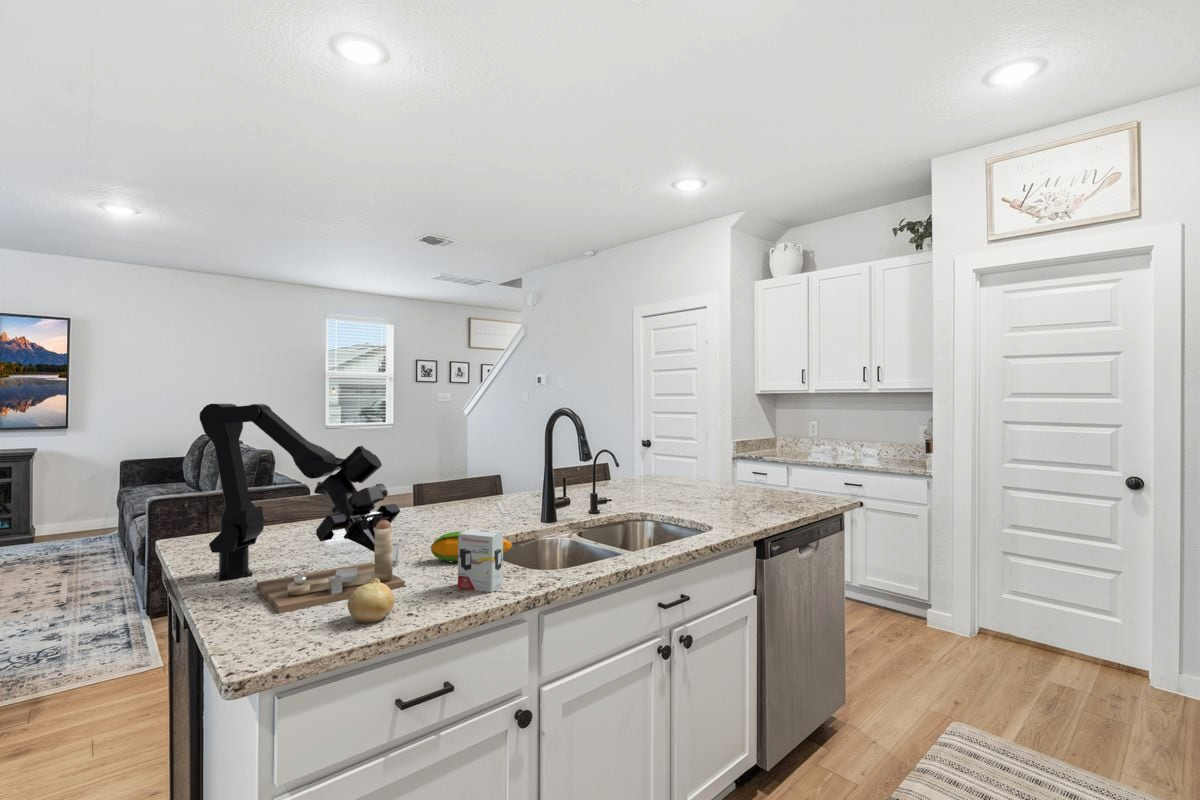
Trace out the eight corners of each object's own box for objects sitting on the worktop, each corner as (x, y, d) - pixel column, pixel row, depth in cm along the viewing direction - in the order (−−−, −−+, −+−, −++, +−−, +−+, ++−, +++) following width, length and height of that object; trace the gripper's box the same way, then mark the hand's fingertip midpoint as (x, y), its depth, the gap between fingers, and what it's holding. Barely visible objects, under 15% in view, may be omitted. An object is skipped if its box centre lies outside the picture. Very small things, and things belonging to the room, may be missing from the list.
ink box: (456, 588, 123) (456, 532, 123) (469, 582, 127) (469, 528, 127) (491, 593, 120) (491, 535, 120) (503, 586, 124) (503, 531, 124)
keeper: (292, 593, 116) (292, 577, 116) (354, 581, 124) (354, 566, 124) (302, 602, 110) (303, 586, 110) (367, 589, 118) (367, 573, 118)
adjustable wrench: (398, 569, 139) (398, 561, 139) (370, 571, 138) (370, 563, 138) (409, 544, 163) (409, 538, 163) (385, 545, 162) (385, 539, 162)
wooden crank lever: (288, 596, 113) (288, 532, 113) (286, 590, 116) (286, 528, 117) (394, 579, 124) (394, 520, 124) (389, 574, 127) (389, 517, 127)
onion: (402, 618, 105) (402, 579, 105) (358, 630, 100) (358, 589, 100) (383, 608, 111) (383, 571, 111) (340, 618, 105) (340, 579, 105)
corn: (433, 527, 147) (512, 525, 150) (433, 557, 148) (512, 553, 151) (429, 536, 140) (512, 533, 143) (429, 567, 140) (512, 563, 144)
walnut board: (256, 588, 123) (256, 582, 123) (371, 567, 139) (371, 562, 139) (279, 613, 108) (279, 606, 108) (404, 586, 124) (404, 581, 124)
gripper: (325, 477, 120) (362, 536, 115) (395, 469, 137) (429, 520, 132) (300, 511, 124) (334, 570, 119) (371, 500, 141) (403, 550, 135)
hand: (378, 551), depth 126 cm, fingers closed
